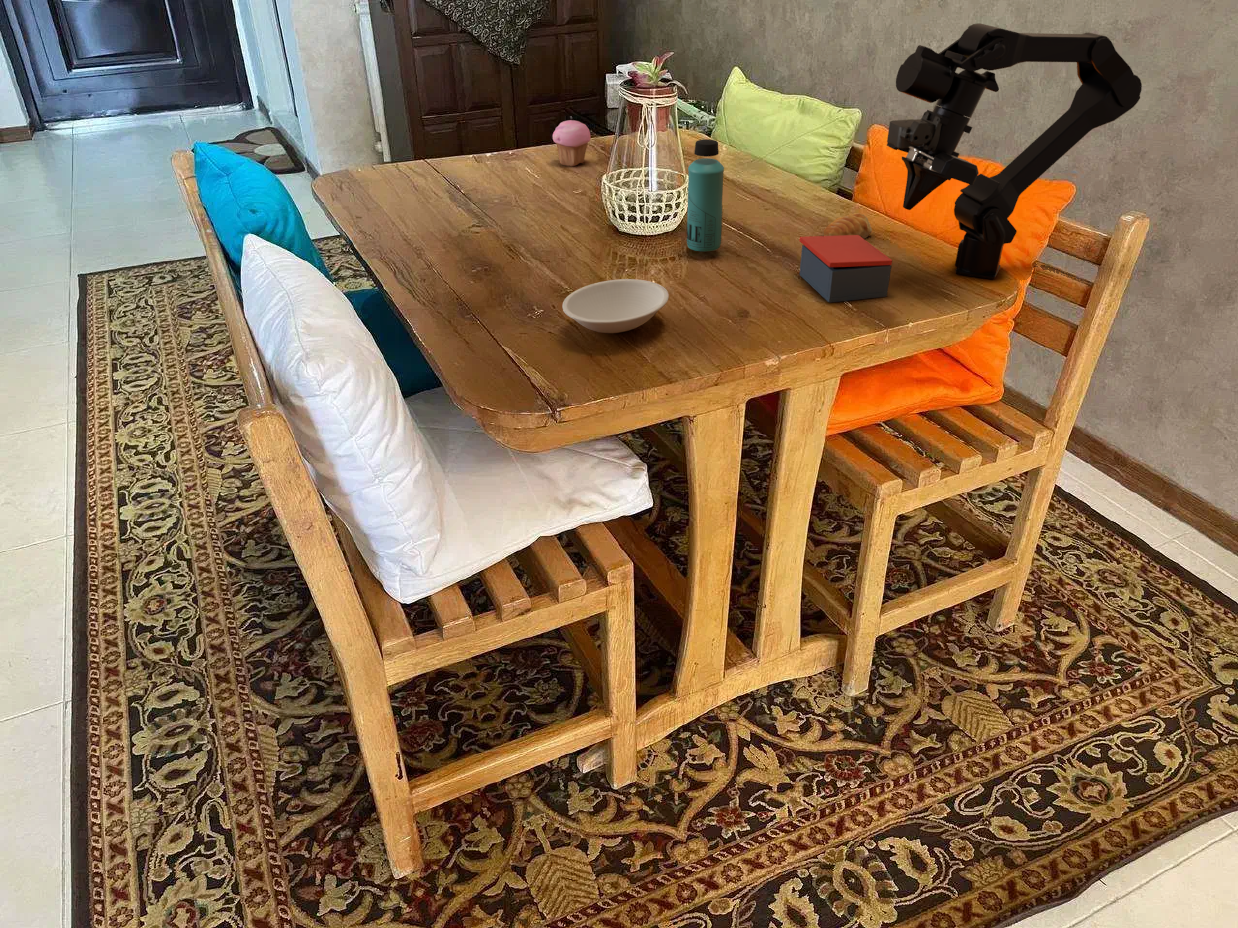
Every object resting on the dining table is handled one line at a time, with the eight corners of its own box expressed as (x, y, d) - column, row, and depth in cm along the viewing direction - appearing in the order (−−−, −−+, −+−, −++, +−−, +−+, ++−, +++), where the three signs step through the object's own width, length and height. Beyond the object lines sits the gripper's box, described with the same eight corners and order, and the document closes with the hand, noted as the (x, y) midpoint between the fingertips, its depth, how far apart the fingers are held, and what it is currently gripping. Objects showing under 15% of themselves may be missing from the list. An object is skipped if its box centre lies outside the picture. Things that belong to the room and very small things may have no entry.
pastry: (841, 247, 169) (843, 227, 167) (813, 238, 173) (815, 218, 171) (874, 236, 173) (876, 216, 171) (845, 227, 178) (848, 208, 176)
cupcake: (570, 157, 224) (568, 114, 219) (598, 162, 220) (597, 119, 215) (547, 166, 218) (544, 122, 213) (576, 171, 214) (574, 126, 209)
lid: (829, 267, 144) (830, 262, 144) (799, 241, 154) (799, 236, 154) (891, 265, 146) (892, 260, 146) (857, 239, 156) (858, 234, 156)
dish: (619, 300, 149) (619, 271, 147) (689, 324, 141) (690, 293, 139) (542, 336, 138) (540, 305, 136) (612, 363, 130) (612, 331, 128)
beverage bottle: (726, 250, 168) (731, 137, 157) (713, 262, 163) (718, 147, 152) (693, 245, 171) (696, 134, 160) (679, 257, 166) (682, 143, 155)
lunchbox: (828, 303, 147) (832, 271, 144) (799, 274, 158) (802, 245, 155) (887, 296, 149) (891, 265, 146) (853, 269, 159) (857, 239, 157)
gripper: (882, 84, 146) (840, 179, 153) (941, 109, 131) (892, 213, 138) (938, 105, 150) (895, 197, 157) (1002, 131, 135) (951, 232, 142)
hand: (906, 209), depth 148 cm, fingers closed
